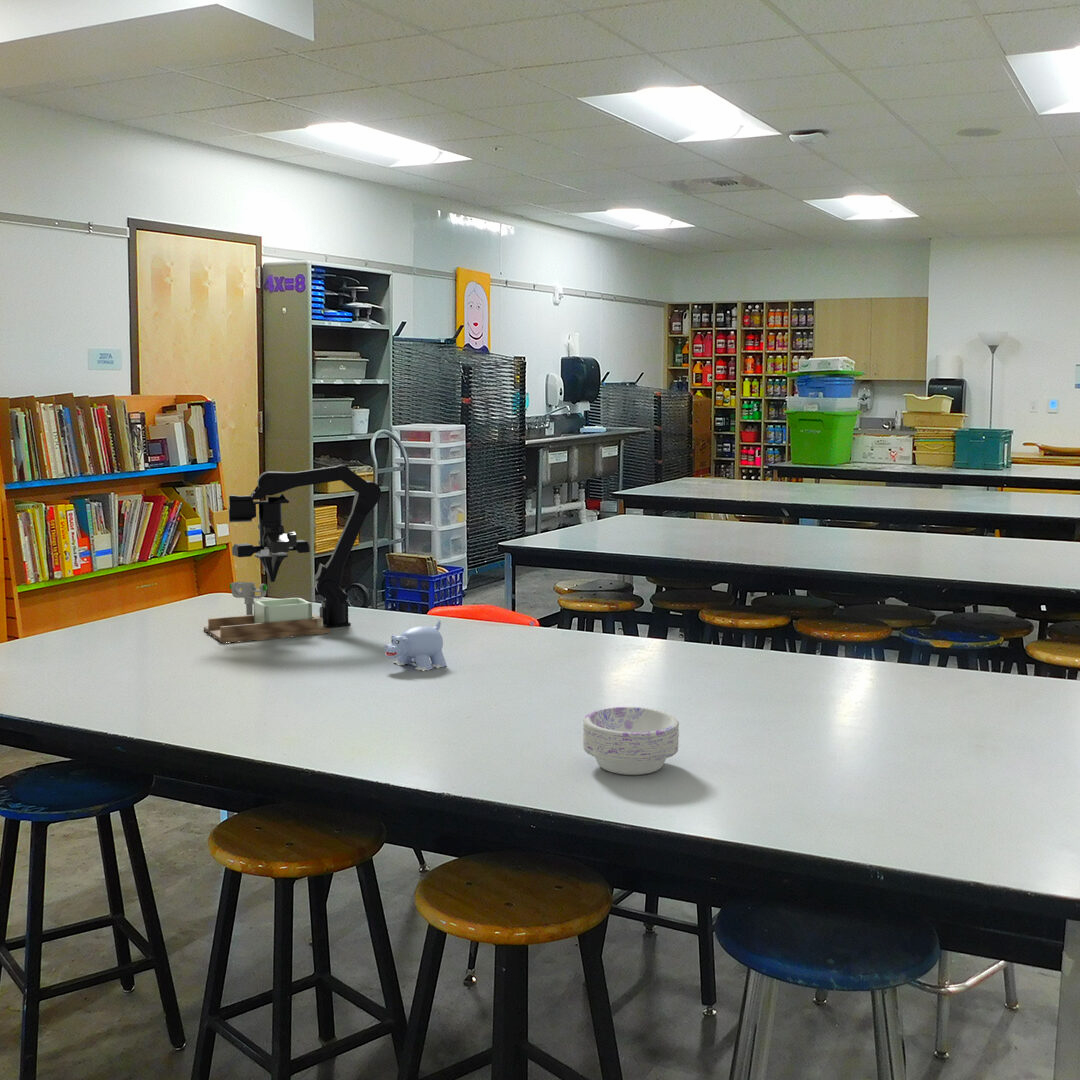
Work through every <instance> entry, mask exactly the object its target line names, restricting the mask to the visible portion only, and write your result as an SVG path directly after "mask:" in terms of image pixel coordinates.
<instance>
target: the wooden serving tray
mask: <svg viewBox="0 0 1080 1080" xmlns="http://www.w3.org/2000/svg"><path fill="white" fill-rule="evenodd" d="M207 622H208V623H207V626H203V631H204V630H205V631H206V632H208V633H209V634H211V635H212V636H213V637H215V638H216V639H218V640H219V641H220V643H221V642H222V643H225V644H229V643H228V642H236V643H239V642H238V641H246V642H250V641H249V640H257V641H262V640H261V639H267V640H271V639H270V638H277V639H283V638H282V637H288V638H292V637H291V636H298V637H302V636H301V635H309V636H314V635H313V634H319V635H324V634H323V633H330V634H331V629H330V628H329V627H326V626H324V625H323V618H321V617H320V615H317V614H315V613H313V612H312V619H301V620H290V621H278V622H267V623H256V624H254V614H253V615H246V614H245V615H235V616H222V617H213V618H208V619H207ZM205 631H204V632H205ZM206 632H205V633H206ZM208 633H207V634H208ZM209 634H208V635H209ZM211 635H210V636H211ZM212 636H211V637H212ZM215 638H214V639H215ZM216 639H215V640H216ZM218 640H217V641H218ZM219 641H218V642H219ZM226 642H227V643H226ZM222 643H221V644H222Z"/></svg>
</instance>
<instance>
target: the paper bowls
mask: <svg viewBox="0 0 1080 1080" xmlns="http://www.w3.org/2000/svg"><path fill="white" fill-rule="evenodd" d="M582 721H583V725H582V727H583V728H582V730H583V731H582V732H583V733H582V737H583V738H582V747H583V750H584V752H585V753H587V754H588V755H589V756H592V757H594V758H595V761H596V763H597V765H599V767H600V768H602V769H603V770H604V771H606V772H610V773H612V774H617V775H625V776H639V775H640V776H641V775H646V774H652V773H655V772H657V771H658V770H660V769H661V768H662V767H663V765H664V764H665V762H666V760H667V759H668V758H671V757H674V756H675V755H676V754H677V753H678V751H679V735H680V732H679V731H680V730H679V728H680V727H679V726H680V723H679V720H678V719H677V718H676V716H673V715H672V714H670V713H668V712H666V711H662V710H658V709H654V708H648V707H640V706H639V707H638V706H615V707H614V706H613V707H606V708H600V709H596V710H593V711H591V712H589V713H587V714H586V715H585V716H584V718H583V720H582Z"/></svg>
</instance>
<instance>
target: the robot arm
mask: <svg viewBox="0 0 1080 1080" xmlns="http://www.w3.org/2000/svg"><path fill="white" fill-rule="evenodd" d="M338 481H341V482H342V483H344V484H346V485H347V486H348V487H349V488H351V489H352V490H354V492H355V493H354V497H353V502H352V507H351V511H350V514H349V516H348V518H347V521H346V523H345V525H344V528H343V529H342V532H341V534H340V536H339V538H338V541H337V543H336V545H335V546H334V550H333V551H332V553H331V556H330V558H329V560H328V561H327V562H326V564H322V563H319V565H318V569H317V571H316V574H314V575H313V578H314V588H315V589H316V591H317V593H318V594H319V596H321V597H323V599H324V600H321V606H320V607H319V617H321V618H323V626H324V627H326V628H331V627H334V628H335V627H342V626H343V627H344V626H351V625H352V623H351V622H349V600H348V599H349V598H348V597H349V596H348V594H347V593H346V592H345V590H344V589H343V588H342V587H341V583H342V579H343V573H344V568H345V564H346V563H347V560H348V558H349V556H350V554H351V552H352V550H353V547H354V545H355V543H356V540H357V538H358V536H359V533H360V532H361V529H362V527H363V525H364V522H365V521H366V519H367V517H368V516H369V514H370V513H371V512H372V511H373V510H374V508H375V507H376V505H377V504H378V502H379V501H380V500H381V497H382V489H381V487H380V486H379V485H378V484H377V483H376V482H374V481H372V480H365V479H363V478H362V477H361V476H359V474H357V473H355V472H354V471H353V470H351V469H350V467H348V466H347V465H345V464H338V465H336V466H329V467H322V468H321V467H320V468H315V469H308V470H301V471H293V472H292V471H274V470H273V471H271V470H270V471H264V472H262V473H261V474H260V475H259V476H258V478H257V486H256V487H255V488H254V490H253V491H251V494H250V495H235V494H233V495H232V494H231V495H229V496H228V504H229V505H228V523H250V522H253V519H255V518H257V505H258V524H257V528H258V530H259V532H258V533H259V535H258V536H259V540H258V545H253V544H251V543H247V542H246V543H234V545H232V548H231V553H232V556H234V557H238V558H247V557H249V558H251V557H252V556H253V555H254V557H255V558H258V559H259V561H260V562H261V563H262V566H263V568H264V570H265V572H266V574H267V577H268V579H269V582H270V583H275V581H276V579H277V576H278V572H279V570H280V566H281V564H282V562H283V561H284V559H286V558H289V554H288V553H289V552H290V551H296V552H297V553H298V554H303V553H311V545H310V543H309V542H308V541H307V540H304V539H297V538H298V537H297V533H296V531H291V532H290V531H289V532H287V533H285V528H284V525H283V514H282V513H283V512H282V511H283V510H282V509H283V506H282V504H289V503H290V500H289V499H288V498H287V497H285V495H284V492H287V491H289V490H292V489H294V488H298V487H305V486H311V485H318V484H324V483H331V482H338ZM277 494H280V495H279V496H274V495H277ZM265 497H267V499H266V500H262V499H263V498H265Z"/></svg>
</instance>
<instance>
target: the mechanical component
mask: <svg viewBox="0 0 1080 1080" xmlns="http://www.w3.org/2000/svg"><path fill="white" fill-rule="evenodd" d="M255 584H256V583H255V582H253V581H251V582H250V581H249V582H246V581H245V582H244V581H243V582H242V581H235V582H231V583H230V584H229V589H230V590H231V595H232V597H234V598H237V599H244V603H243V604H244V605H245V609H246V611H245V612H246V614H245V615H254V611H253V606H254V601H255V599H262V598H263V597H264V598H265V596H266V595H267V591H268V590H269V585H268V584H266V583H261V584H260V585H259V588H257V586H256V585H255ZM255 593H260V595H259V594H258V595H256V594H255Z"/></svg>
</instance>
